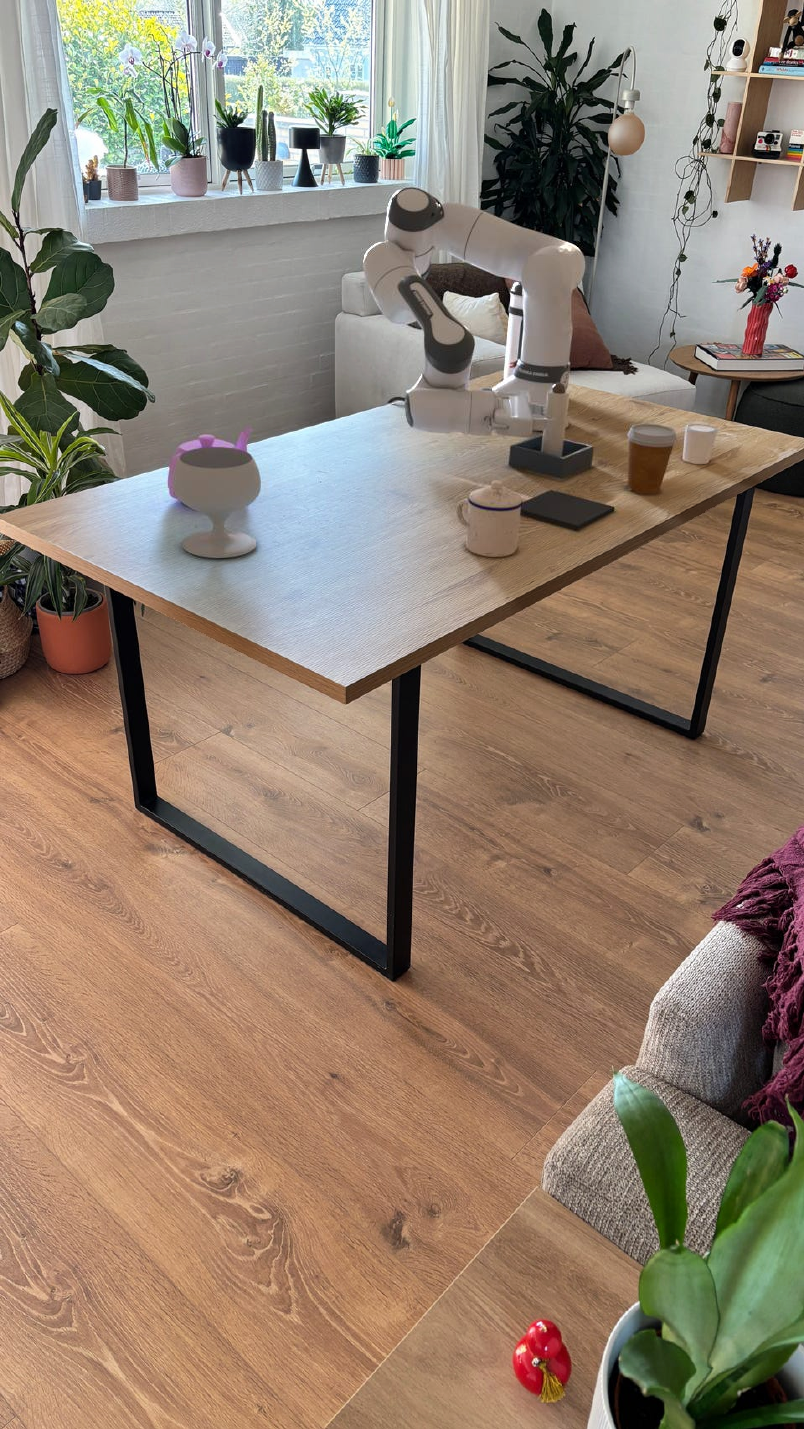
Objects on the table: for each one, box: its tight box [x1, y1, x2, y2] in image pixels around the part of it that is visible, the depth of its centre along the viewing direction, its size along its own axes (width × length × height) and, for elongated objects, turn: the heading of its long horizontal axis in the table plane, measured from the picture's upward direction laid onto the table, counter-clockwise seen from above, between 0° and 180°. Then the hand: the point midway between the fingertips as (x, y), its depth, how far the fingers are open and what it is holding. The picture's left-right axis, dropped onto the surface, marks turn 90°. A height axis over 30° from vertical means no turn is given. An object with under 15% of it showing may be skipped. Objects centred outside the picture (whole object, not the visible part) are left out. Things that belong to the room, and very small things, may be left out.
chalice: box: [173, 447, 262, 559], centre depth 176 cm, size 14×14×15 cm
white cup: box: [682, 423, 719, 465], centre depth 234 cm, size 7×7×7 cm
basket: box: [508, 433, 595, 480], centre depth 225 cm, size 13×13×5 cm
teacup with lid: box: [455, 480, 524, 558], centre depth 183 cm, size 12×9×12 cm
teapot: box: [167, 427, 254, 502], centre depth 198 cm, size 20×13×12 cm, turn 141°
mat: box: [520, 489, 616, 532], centre depth 202 cm, size 14×14×1 cm
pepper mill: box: [541, 382, 570, 457], centre depth 222 cm, size 4×4×17 cm
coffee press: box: [500, 280, 524, 382], centre depth 276 cm, size 17×16×30 cm
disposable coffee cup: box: [626, 423, 678, 496], centre depth 213 cm, size 10×10×12 cm
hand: (552, 417), depth 221 cm, fingers open, 8 cm apart
